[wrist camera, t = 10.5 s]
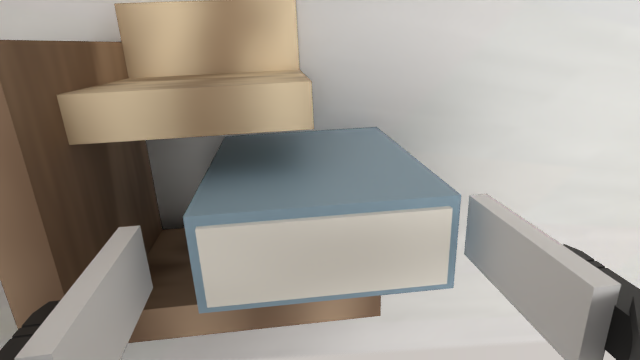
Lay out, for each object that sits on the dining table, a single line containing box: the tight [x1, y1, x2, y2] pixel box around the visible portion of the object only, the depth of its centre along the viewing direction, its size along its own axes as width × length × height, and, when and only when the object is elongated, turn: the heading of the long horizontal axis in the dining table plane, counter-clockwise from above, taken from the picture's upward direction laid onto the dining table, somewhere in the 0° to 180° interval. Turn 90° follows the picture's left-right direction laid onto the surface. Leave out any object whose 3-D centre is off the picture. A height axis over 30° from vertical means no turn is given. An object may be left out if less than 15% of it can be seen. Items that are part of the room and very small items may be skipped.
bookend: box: [57, 0, 314, 145], centre depth 20 cm, size 10×6×9 cm, turn 92°
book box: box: [183, 127, 461, 314], centre depth 21 cm, size 10×4×13 cm, turn 92°
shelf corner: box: [0, 40, 381, 343], centre depth 20 cm, size 15×14×12 cm
